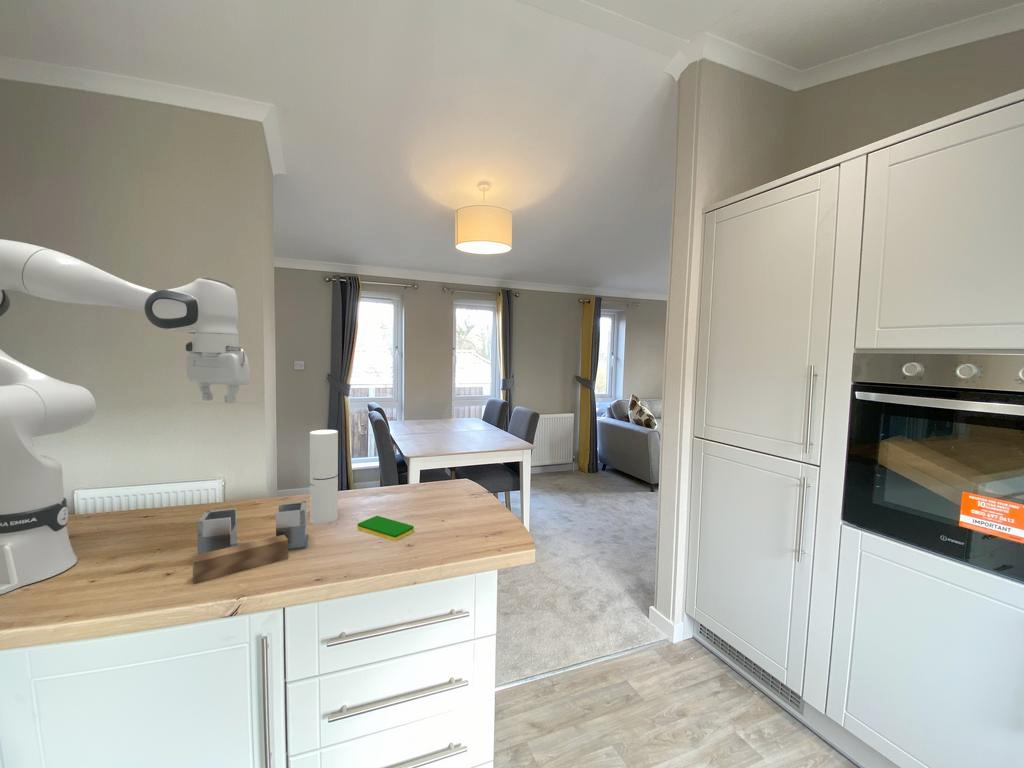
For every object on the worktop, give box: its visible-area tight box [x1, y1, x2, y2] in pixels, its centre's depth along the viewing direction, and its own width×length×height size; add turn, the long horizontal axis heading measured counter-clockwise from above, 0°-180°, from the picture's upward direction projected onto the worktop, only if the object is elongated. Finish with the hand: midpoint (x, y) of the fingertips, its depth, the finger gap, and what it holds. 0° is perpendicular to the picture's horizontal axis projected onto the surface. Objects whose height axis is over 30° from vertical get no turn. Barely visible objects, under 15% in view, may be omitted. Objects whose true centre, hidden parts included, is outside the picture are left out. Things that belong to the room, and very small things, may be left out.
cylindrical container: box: [309, 429, 339, 525], centre depth 118 cm, size 7×7×25 cm
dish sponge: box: [356, 515, 415, 542], centre depth 112 cm, size 7×14×2 cm, turn 61°
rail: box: [192, 535, 289, 585], centre depth 91 cm, size 17×3×5 cm, turn 131°
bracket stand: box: [196, 500, 310, 555], centre depth 99 cm, size 22×7×10 cm, turn 113°
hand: (218, 401), depth 105 cm, fingers open, 8 cm apart
